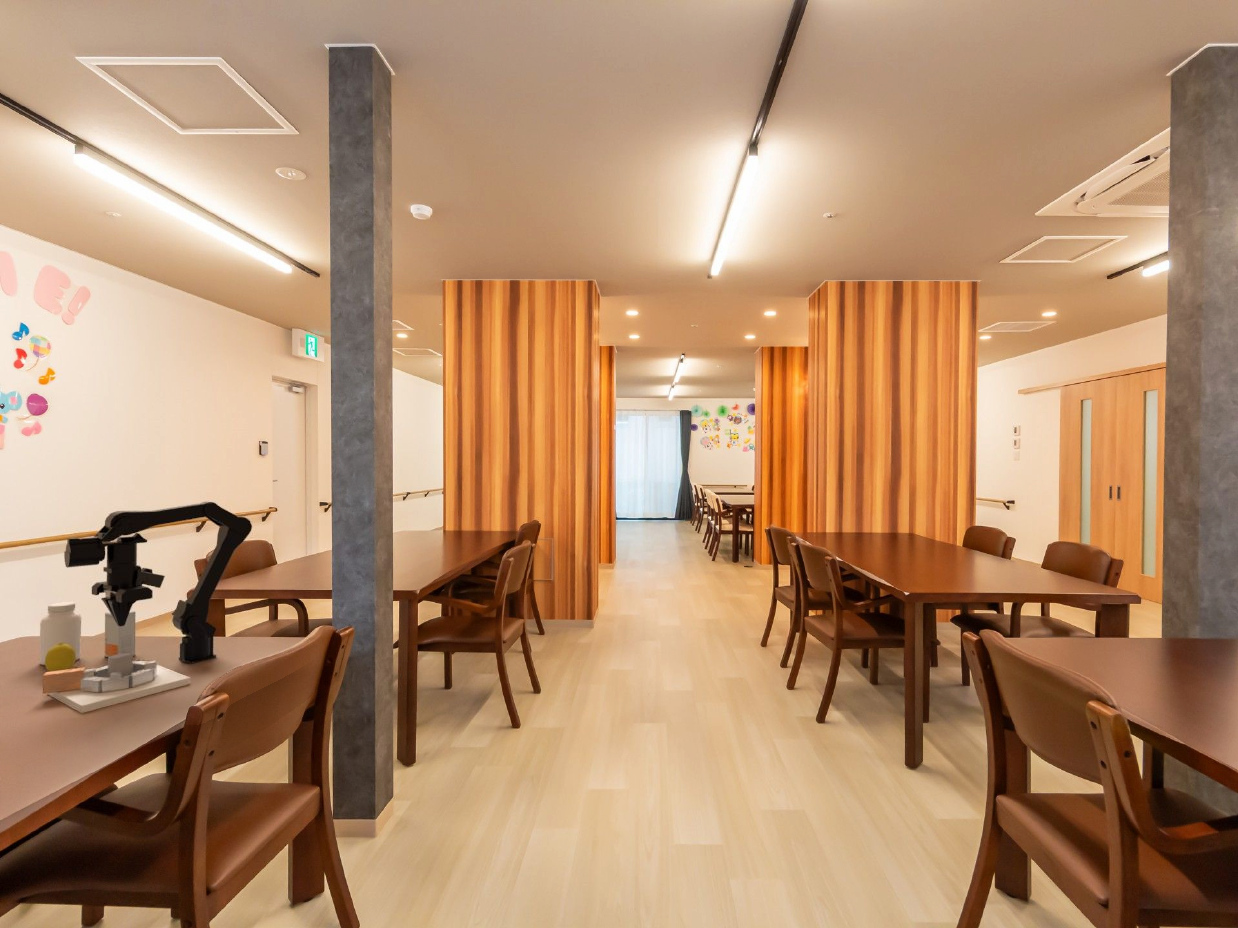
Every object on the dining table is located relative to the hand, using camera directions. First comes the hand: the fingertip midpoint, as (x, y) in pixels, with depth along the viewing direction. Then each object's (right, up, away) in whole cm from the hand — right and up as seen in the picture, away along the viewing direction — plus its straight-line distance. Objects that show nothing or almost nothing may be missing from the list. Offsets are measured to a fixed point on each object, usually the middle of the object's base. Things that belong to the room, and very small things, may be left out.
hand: (121, 625), depth 149 cm
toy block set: (+4, -10, -11) cm, 16 cm away
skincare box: (-12, -12, +15) cm, 23 cm away
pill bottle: (-24, -12, +10) cm, 29 cm away
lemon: (-14, -12, -1) cm, 19 cm away
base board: (+7, -12, -9) cm, 17 cm away
